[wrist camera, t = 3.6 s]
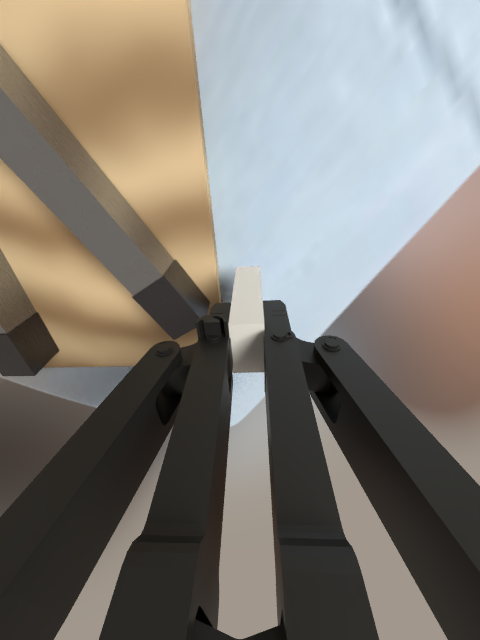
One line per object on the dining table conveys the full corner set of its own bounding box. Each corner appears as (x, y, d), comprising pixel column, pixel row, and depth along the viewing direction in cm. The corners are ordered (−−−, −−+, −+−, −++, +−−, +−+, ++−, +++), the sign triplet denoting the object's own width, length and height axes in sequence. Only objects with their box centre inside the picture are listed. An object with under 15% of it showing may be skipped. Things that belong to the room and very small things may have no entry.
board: (-252, -54, 12) (-300, -74, 11) (178, -110, 10) (170, -139, 9) (26, 359, 25) (17, 367, 24) (227, 355, 24) (226, 364, 23)
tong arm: (-68, 38, 12) (-149, 8, 10) (-41, -11, 11) (-122, -57, 9) (183, 317, 20) (173, 340, 18) (210, 302, 19) (204, 323, 17)
